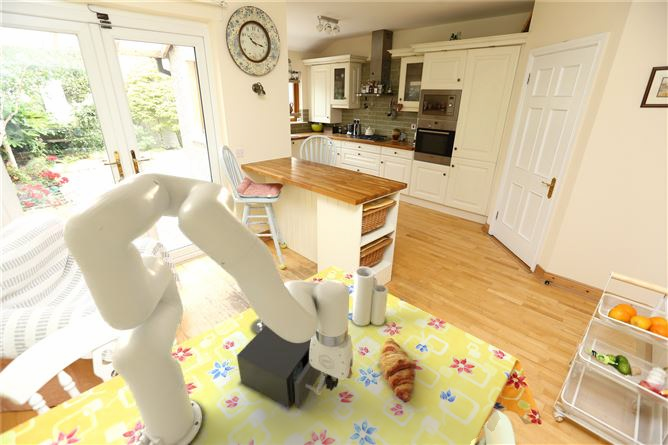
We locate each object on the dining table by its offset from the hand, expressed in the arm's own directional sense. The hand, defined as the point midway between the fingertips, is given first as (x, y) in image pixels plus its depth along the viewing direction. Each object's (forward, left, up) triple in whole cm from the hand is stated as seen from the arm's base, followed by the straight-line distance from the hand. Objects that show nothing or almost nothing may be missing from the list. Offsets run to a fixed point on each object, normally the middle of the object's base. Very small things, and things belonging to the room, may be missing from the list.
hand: (331, 385), depth 74 cm
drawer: (0, +11, -5) cm, 12 cm away
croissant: (+16, -13, -6) cm, 21 cm away
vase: (+33, +2, -6) cm, 33 cm away
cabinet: (0, +17, -5) cm, 17 cm away
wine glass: (+13, +33, -6) cm, 35 cm away
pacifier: (0, +12, -4) cm, 13 cm away
